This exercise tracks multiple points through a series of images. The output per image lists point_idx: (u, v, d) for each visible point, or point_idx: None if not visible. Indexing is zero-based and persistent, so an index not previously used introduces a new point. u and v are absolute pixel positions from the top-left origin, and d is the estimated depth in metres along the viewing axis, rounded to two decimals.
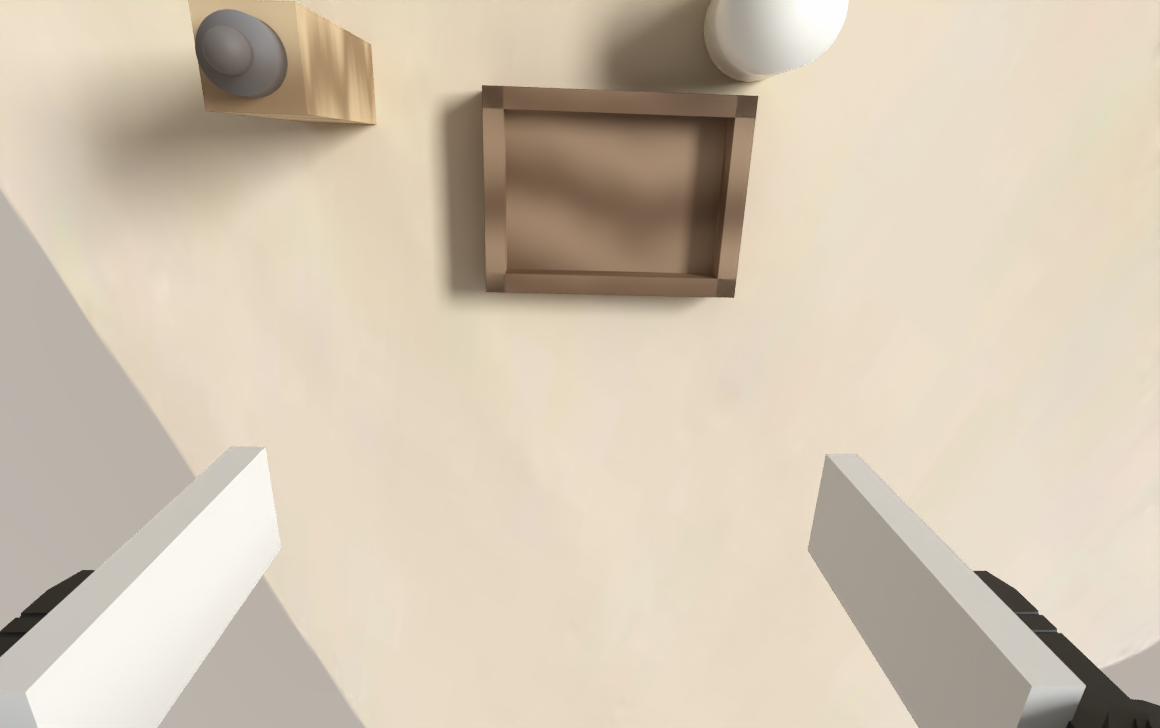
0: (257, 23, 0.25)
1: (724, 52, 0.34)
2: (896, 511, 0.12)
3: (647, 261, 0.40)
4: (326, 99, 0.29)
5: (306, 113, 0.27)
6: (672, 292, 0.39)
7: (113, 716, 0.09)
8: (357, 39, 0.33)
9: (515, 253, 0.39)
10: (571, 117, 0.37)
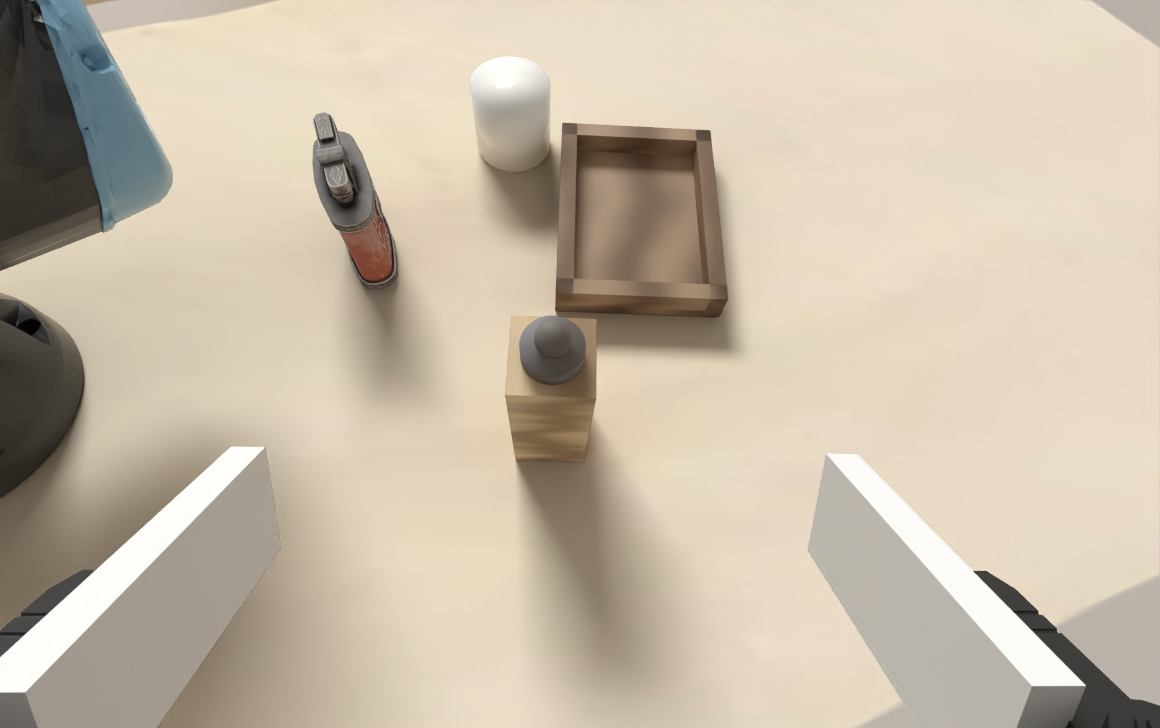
0: (530, 324, 0.29)
1: (534, 138, 0.47)
2: (896, 511, 0.12)
3: (686, 197, 0.48)
4: None
5: (595, 320, 0.31)
6: (711, 168, 0.47)
7: (113, 716, 0.09)
8: None
9: None
10: (577, 246, 0.45)
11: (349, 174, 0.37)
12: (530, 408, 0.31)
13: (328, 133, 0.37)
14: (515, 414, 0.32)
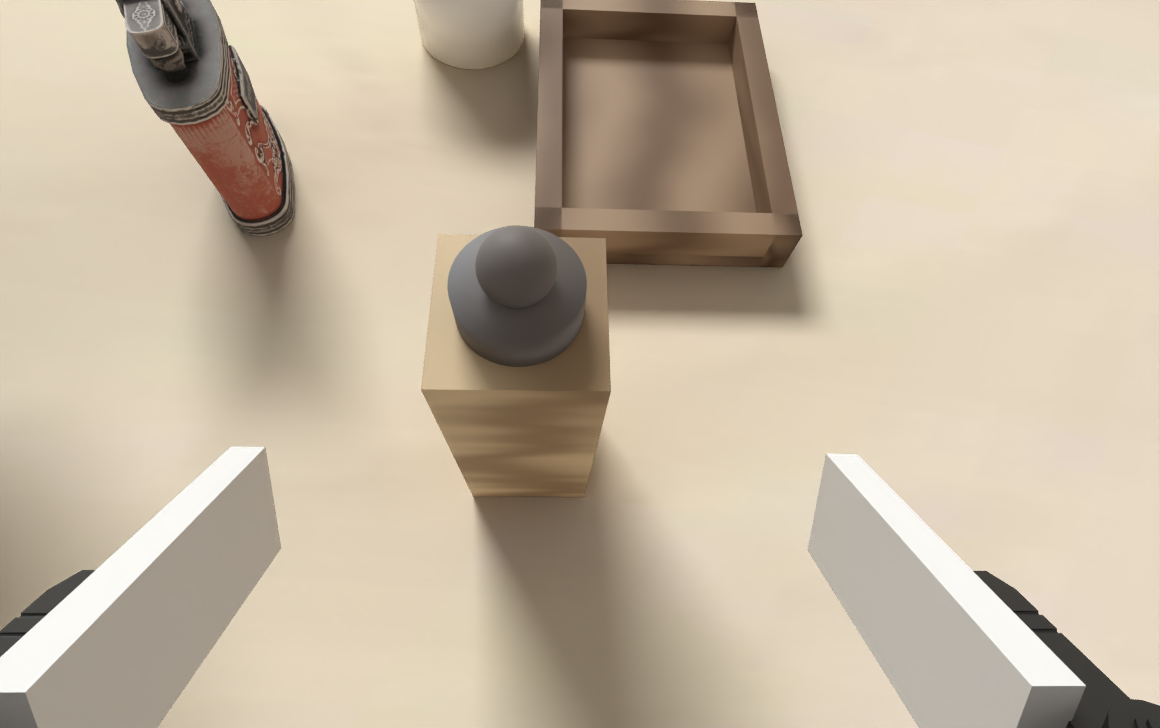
0: (471, 244, 0.14)
1: (499, 11, 0.32)
2: (896, 511, 0.12)
3: (724, 97, 0.33)
4: None
5: (604, 240, 0.16)
6: (760, 52, 0.32)
7: (113, 716, 0.09)
8: None
9: None
10: (566, 167, 0.30)
11: (175, 22, 0.22)
12: (480, 414, 0.16)
13: None
14: (453, 427, 0.16)
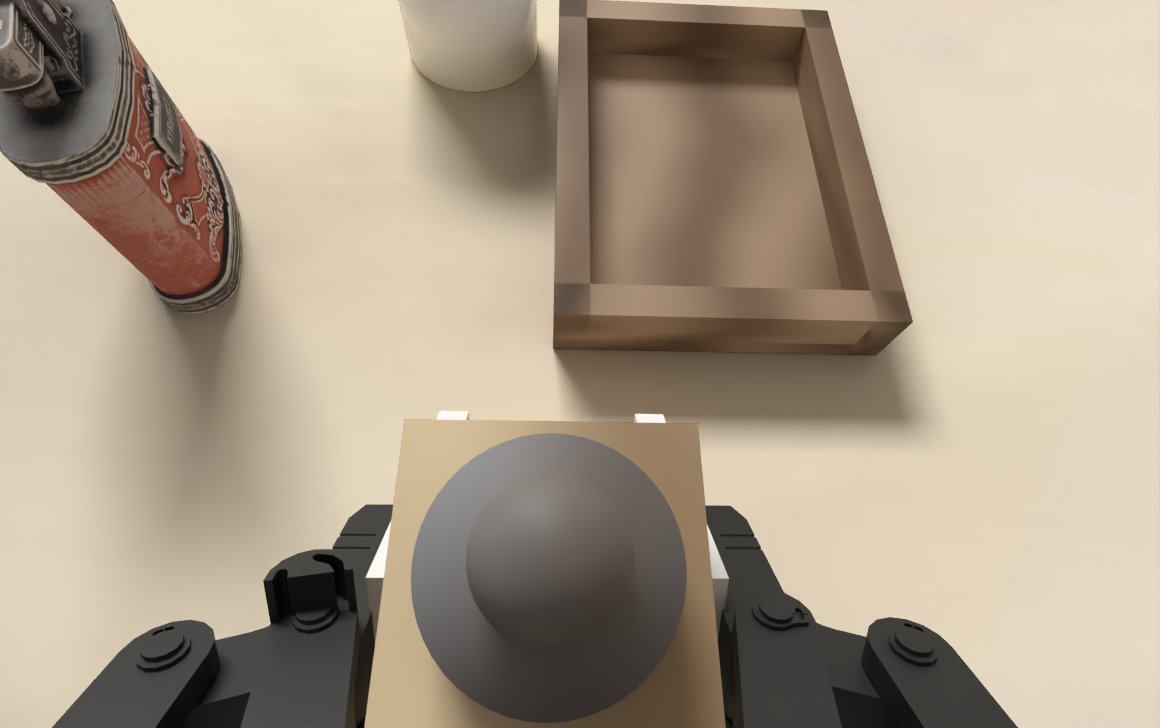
0: (460, 475, 0.07)
1: (507, 21, 0.25)
2: None
3: (790, 129, 0.26)
4: None
5: (695, 427, 0.09)
6: (838, 73, 0.25)
7: None
8: None
9: None
10: (592, 221, 0.23)
11: (42, 38, 0.15)
12: None
13: None
14: None
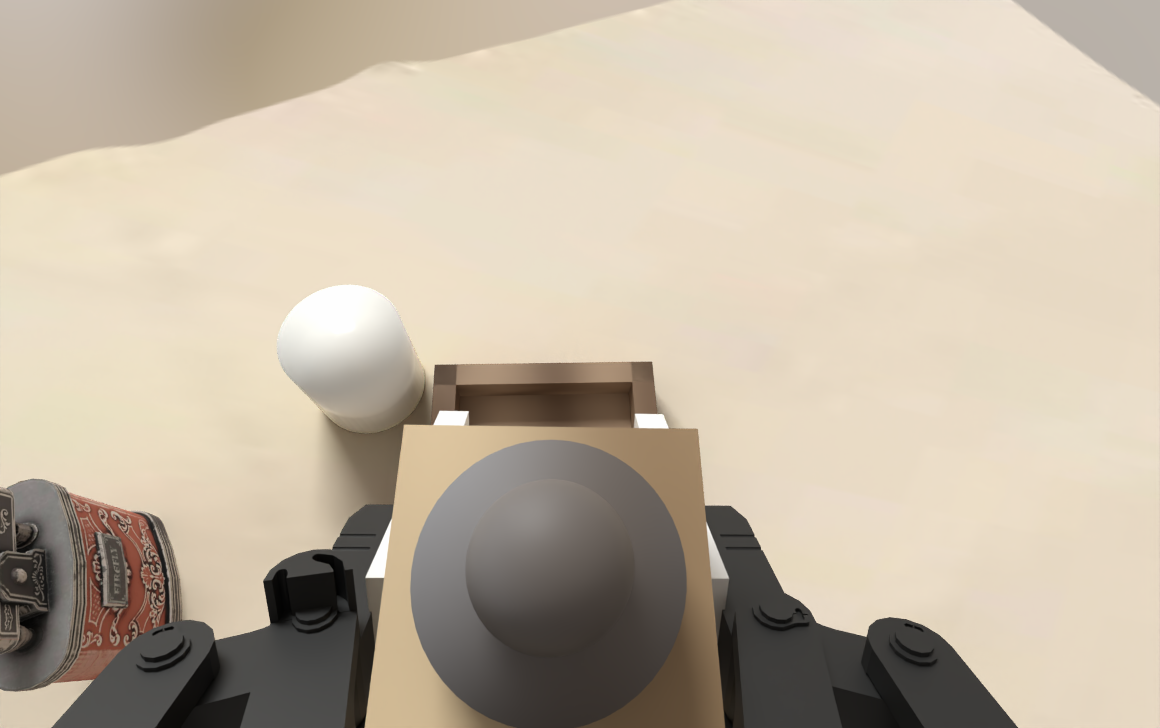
0: (460, 482, 0.07)
1: (389, 402, 0.31)
2: None
3: None
4: None
5: (695, 433, 0.09)
6: None
7: None
8: None
9: None
10: None
11: (17, 602, 0.22)
12: None
13: None
14: None
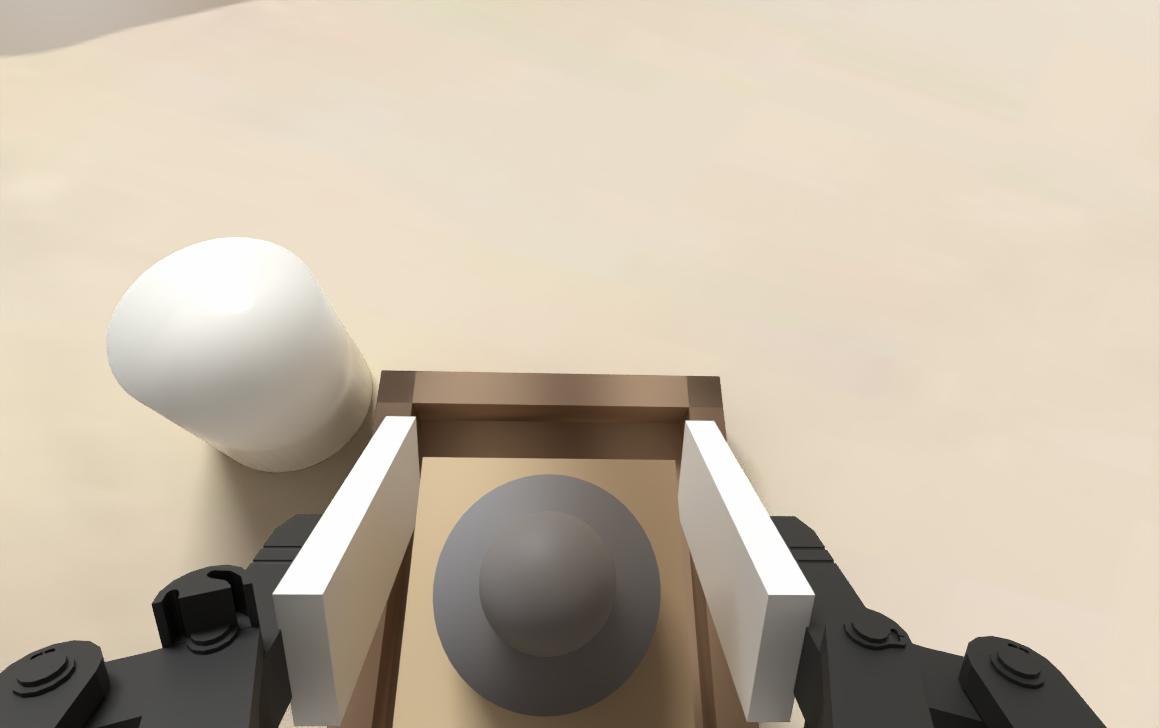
0: (473, 510, 0.09)
1: (301, 428, 0.20)
2: (724, 466, 0.13)
3: None
4: None
5: (673, 463, 0.11)
6: None
7: (354, 628, 0.11)
8: None
9: None
10: None
11: None
12: None
13: None
14: None
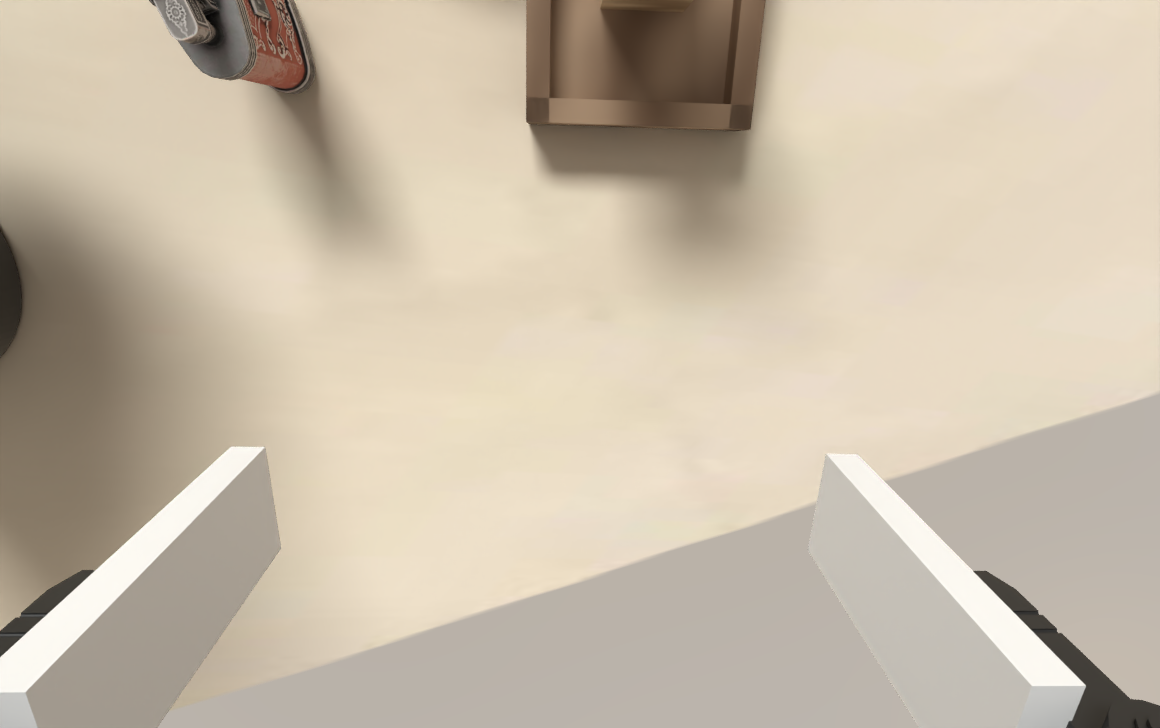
0: None
1: None
2: (896, 511, 0.12)
3: None
4: None
5: None
6: None
7: (113, 716, 0.09)
8: None
9: (705, 94, 0.33)
10: (555, 18, 0.32)
11: None
12: None
13: None
14: None
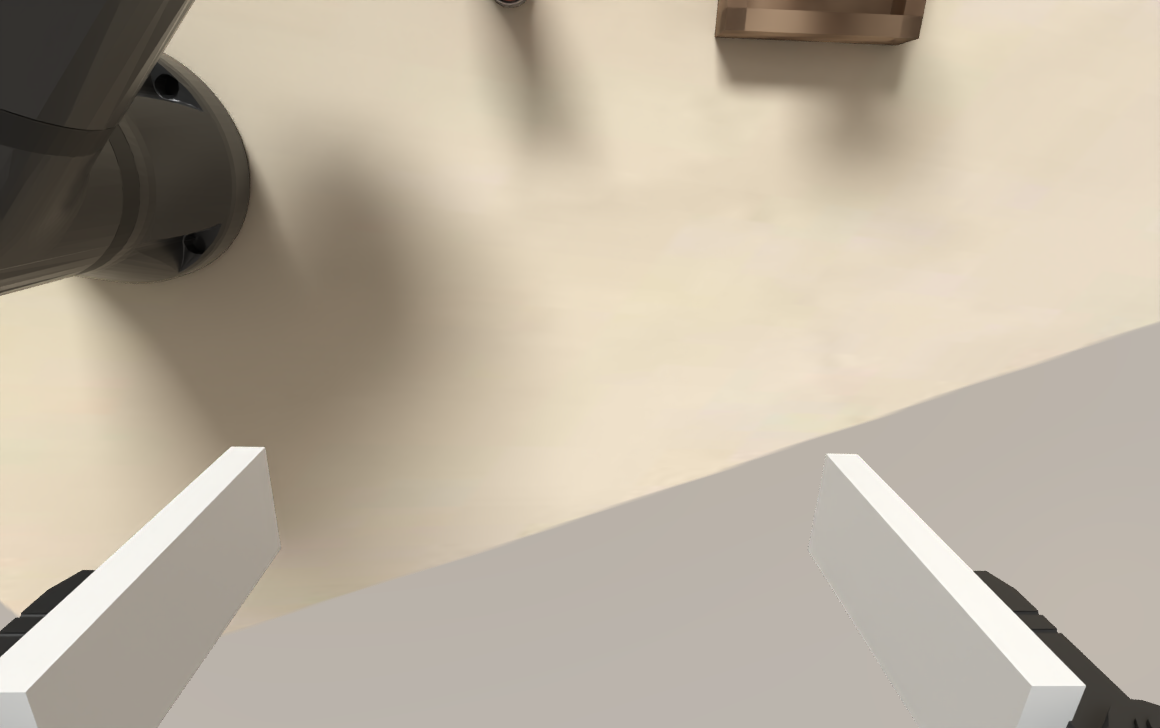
0: None
1: None
2: (896, 511, 0.12)
3: None
4: None
5: None
6: None
7: (113, 716, 0.09)
8: None
9: (875, 10, 0.38)
10: None
11: None
12: None
13: None
14: None
